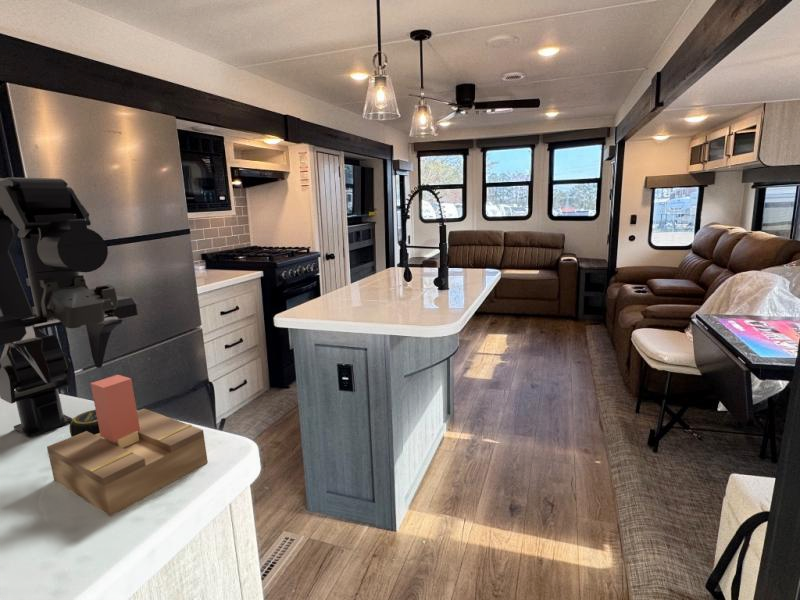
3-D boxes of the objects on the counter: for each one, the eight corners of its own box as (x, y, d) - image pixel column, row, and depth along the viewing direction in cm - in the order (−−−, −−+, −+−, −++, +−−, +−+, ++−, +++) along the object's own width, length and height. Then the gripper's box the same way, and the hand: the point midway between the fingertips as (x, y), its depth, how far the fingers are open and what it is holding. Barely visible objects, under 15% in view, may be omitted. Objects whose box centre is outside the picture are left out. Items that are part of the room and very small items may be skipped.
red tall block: (101, 443, 62) (89, 382, 60) (127, 432, 65) (117, 374, 63) (116, 451, 60) (104, 388, 58) (142, 439, 63) (132, 379, 61)
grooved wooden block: (54, 480, 61) (46, 445, 60) (149, 437, 72) (144, 407, 71) (110, 516, 53) (102, 477, 52) (207, 462, 64) (203, 429, 63)
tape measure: (116, 442, 71) (112, 420, 70) (65, 451, 69) (60, 428, 68) (127, 424, 78) (123, 403, 77) (81, 431, 76) (77, 410, 75)
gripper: (-11, 283, 52) (18, 410, 55) (150, 262, 67) (166, 363, 70) (-43, 279, 58) (-15, 394, 61) (112, 261, 73) (128, 353, 76)
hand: (74, 374), depth 67 cm, fingers open, 6 cm apart
